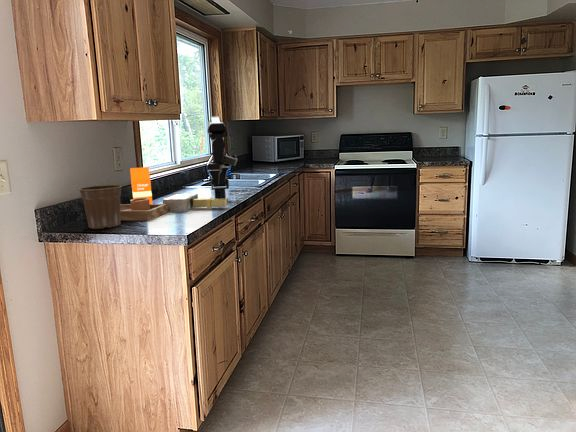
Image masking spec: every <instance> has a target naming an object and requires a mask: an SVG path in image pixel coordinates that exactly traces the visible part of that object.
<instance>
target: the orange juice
mask: <svg viewBox="0 0 576 432" xmlns="http://www.w3.org/2000/svg"><path fill="white" fill-rule="evenodd" d="M130 181H131V191H132V199H136V198H149V202H150V204H154V202H153V193H152V183H151V176H150V169H149V166H145V167H130Z"/></svg>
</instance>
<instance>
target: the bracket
mask: <svg viewBox="0 0 576 432" xmlns="http://www.w3.org/2000/svg"><path fill="white" fill-rule="evenodd" d="M129 201H130V202H129V203H130V204H131V209H127V210H123V211H148V210H150V202H149V198H136V199H133V198H132V199H130V200H129Z"/></svg>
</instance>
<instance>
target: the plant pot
mask: <svg viewBox="0 0 576 432" xmlns="http://www.w3.org/2000/svg"><path fill="white" fill-rule="evenodd" d="M122 187H123V185H120V184H105V185H93V186H91V185H90V186H85V187H84V186H83V187H80V188H78V191H79V192H80V197H81V200H82V202H83V206H84V211H85V217H86V219H87V225H88V228H89V229H92V230H93V229H94V230H100V229H105V228H108V229H110V228H116V227H118V226H120V225H121V224H122V223H121V221H122V220H121V219H120V204H121V197H122Z"/></svg>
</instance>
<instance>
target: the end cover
mask: <svg viewBox="0 0 576 432" xmlns="http://www.w3.org/2000/svg"><path fill="white" fill-rule="evenodd" d="M227 199H228V198H226V199H215V198H214V197H209V198H198V199H194V200H193V206H194V207H195V208H207V209H212V208H226V207H228V200H227Z"/></svg>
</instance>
